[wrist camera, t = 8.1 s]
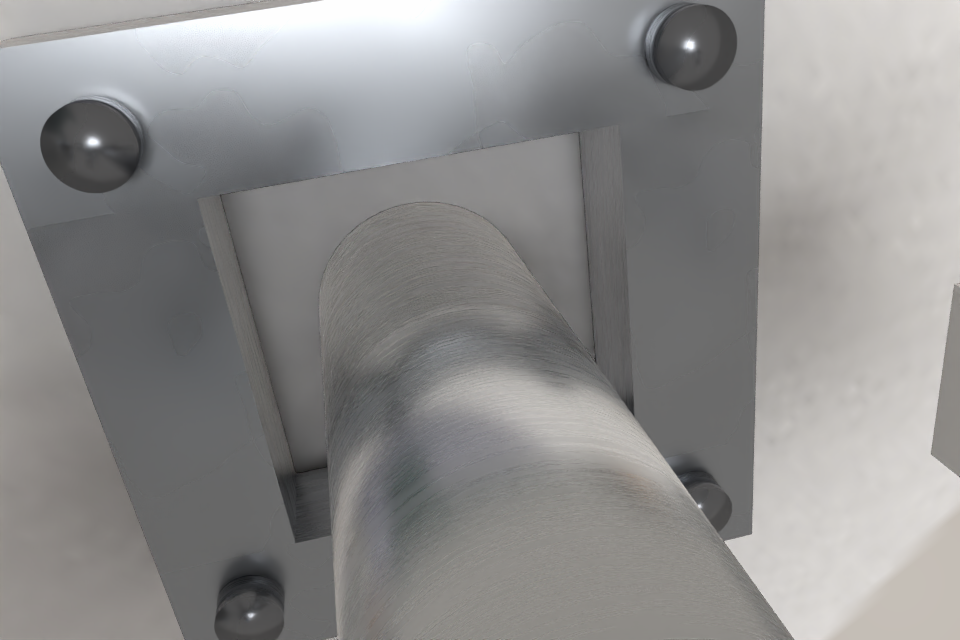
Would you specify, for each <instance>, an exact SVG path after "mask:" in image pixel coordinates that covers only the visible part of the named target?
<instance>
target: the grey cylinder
mask: <svg viewBox="0 0 960 640" xmlns="http://www.w3.org/2000/svg"><path fill="white" fill-rule="evenodd" d="M319 320H320V338H321V356H322V373H323V391H324V409H325V427H326V445H327V462H328V480H329V498H330V516H331V534H332V551H333V569H334V587H335V605H336V623H337V640H794V638H793V637H792V636H791V634H790V633H789V632H788V630H787V629H786V627H785V626H784V625H783V623H782V622H781V620H780V619H779V618H778V616H777V615H776V613H775V612H774V611H773V609H772V608H771V606H770V605H769V604H768V602H767V601H766V600H765V598H764V597H763V595H762V594H761V593H760V591H759V590H758V588H757V587H756V586H755V584H754V583H753V581H752V580H751V579H750V577H749V576H748V574H747V573H746V572H745V570H744V569H743V567H742V566H741V565H740V563H739V562H738V561H737V559H736V558H735V556H734V555H733V554H732V552H731V551H730V549H729V548H728V547H727V545H726V544H725V542H724V541H723V540H722V538H721V537H720V535H719V534H718V533H717V531H716V530H715V529H714V527H713V526H712V524H711V523H710V522H709V520H708V519H707V517H706V516H705V515H704V513H703V512H702V510H701V509H700V508H699V506H698V505H697V503H696V502H695V501H694V499H693V498H692V496H691V495H690V494H689V492H688V491H687V490H686V488H685V487H684V485H683V484H682V483H681V481H680V480H679V478H678V477H677V476H676V474H675V473H674V471H673V470H672V469H671V467H670V466H669V464H668V463H667V462H666V460H665V459H664V458H663V456H662V455H661V453H660V452H659V451H658V449H657V448H656V446H655V445H654V444H653V442H652V441H651V439H650V438H649V437H648V435H647V434H646V432H645V431H644V430H643V428H642V427H641V426H640V424H639V423H638V421H637V420H636V419H635V417H634V416H633V414H632V413H631V412H630V410H629V409H628V407H627V406H626V405H625V403H624V402H623V400H622V399H621V398H620V396H619V395H618V393H617V392H616V391H615V389H614V388H613V387H612V385H611V384H610V382H609V381H608V380H607V378H606V377H605V375H604V374H603V373H602V371H601V370H600V368H599V367H598V366H597V364H596V363H595V361H594V360H593V359H592V357H591V356H590V355H589V353H588V352H587V350H586V349H585V348H584V346H583V345H582V343H581V342H580V341H579V339H578V338H577V336H576V335H575V334H574V332H573V331H572V329H571V328H570V327H569V325H568V324H567V322H566V321H565V320H564V318H563V317H562V316H561V314H560V313H559V311H558V310H557V309H556V307H555V306H554V304H553V303H552V302H551V300H550V299H549V297H548V296H547V295H546V293H545V292H544V290H543V289H542V288H541V286H540V285H539V284H538V282H537V281H536V279H535V278H534V277H533V275H532V274H531V272H530V271H529V270H528V268H527V267H526V265H525V264H524V263H523V261H522V260H521V258H520V257H519V256H518V254H517V253H516V251H515V250H514V249H513V247H512V246H511V245H510V243H509V242H508V240H507V239H506V238H505V237H504V235H503V234H502V233H501V232H500V231H499V230H498V229H497V228H496V227H495V226H493V225H492V224H491V223H490V222H488V221H487V220H486V219H484V218H482V217H481V216H479V215H477V214H476V213H473V212H471V211H469V210H466V209H464V208H461V207H458V206H454V205H450V204H444V203H437V202H419V203H410V204H405V205H401V206H397V207H393V208H390V209H388V210H385V211H383V212H380V213H378V214H376V215H375V216H373V217H371V218H369V219H367V220H366V221H364V222H363V223H362V224H360V225H359V226H358V227H356V228H355V229H354V230H353V231H352V232H351V233H350V234H349V235H348V236H346V237H345V239H344V240H343V241H342V242H341V244H340V245H339V246H338V247H337V249H336V250H335V252H334V253H333V255H332V257H331V258H330V260H329V262H328V265H327V267H326V269H325V271H324V275H323V278H322V282H321V285H320V293H319Z"/></svg>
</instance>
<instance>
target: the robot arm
mask: <svg viewBox="0 0 960 640" xmlns="http://www.w3.org/2000/svg"><path fill="white" fill-rule="evenodd" d="M931 455H932V456H934V457H935V458H936V459H937V460H939V461H940V462H941V463H942V464H944V465H945V466H946V467H947V468H949V469H950V470H951V471H952V472H954V473H955V474H956V475H957V476H959V477H960V283H957V284H954V290H953V297H952V304H951V312H950V319H949V326H948V333H947V341H946V348H945V355H944V362H943V370H942V377H941V384H940V391H939V399H938V406H937V413H936V421H935V428H934V435H933V442H932V450H931Z"/></svg>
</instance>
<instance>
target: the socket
mask: <svg viewBox="0 0 960 640" xmlns="http://www.w3.org/2000/svg"><path fill="white" fill-rule="evenodd" d="M764 9H765V0H269V1H262V2H255V3H249V4H242V5H235V6H228V7H221V8H214V9H208V10H201V11H194V12H187V13H180V14H174V15H167V16H160V17H153V18H146V19H139V20H133V21H126V22H119V23H112V24H105V25H99V26H92V27H85V28H78V29H71V30H65V31H58V32H51V33H44V34H37V35H30V36H24V37H17V38H11V39H8V40H4V41H1V42H0V163H1V166H2V168H3V171H4V173H5V176H6V179H7V181H8V184H9V186H10V189H11V192H12V194H13V197H14V199H15V202H16V204H17V207H18V210H19V212H20V215H21V217H22V220H23V223H24V225H25V228H26V230H27V233H28V235H29V238H30V241H31V243H32V246H33V248H34V251H35V254H36V256H37V259H38V261H39V264H40V267H41V269H42V272H43V274H44V277H45V279H46V282H47V285H48V287H49V290H50V292H51V295H52V298H53V300H54V303H55V305H56V308H57V310H58V313H59V316H60V318H61V321H62V323H63V326H64V329H65V331H66V334H67V336H68V339H69V342H70V344H71V347H72V349H73V352H74V354H75V357H76V360H77V362H78V365H79V367H80V370H81V373H82V375H83V378H84V380H85V383H86V385H87V388H88V391H89V393H90V396H91V398H92V401H93V404H94V406H95V409H96V411H97V414H98V416H99V419H100V422H101V424H102V427H103V429H104V432H105V435H106V437H107V440H108V442H109V445H110V448H111V450H112V453H113V455H114V458H115V460H116V463H117V466H118V468H119V471H120V473H121V476H122V479H123V481H124V484H125V486H126V489H127V491H128V494H129V497H130V499H131V502H132V504H133V507H134V510H135V512H136V515H137V517H138V520H139V523H140V525H141V528H142V530H143V533H144V535H145V538H146V541H147V543H148V546H149V548H150V551H151V554H152V556H153V559H154V561H155V564H156V566H157V569H158V572H159V574H160V577H161V579H162V582H163V585H164V587H165V590H166V592H167V595H168V597H169V600H170V603H171V605H172V608H173V610H174V613H175V616H176V618H177V621H178V623H179V626H180V629H181V631H182V634H183V636H184V639H185V640H324V639H329V638H333V637H337V623H336V605H335V587H334V569H333V551H332V534H331V516H330V498H329V480H328V467H324V468H320V469H315V470H311V471H306V472H302V473H297V474H296V472H295V468H294V465H293V461H292V457H291V454H290V450H289V446H288V443H287V439H286V435H285V432H284V428H283V424H282V421H281V417H280V413H279V410H278V406H277V402H276V399H275V395H274V391H273V388H272V384H271V380H270V377H269V373H268V369H267V366H266V362H265V359H264V355H263V351H262V348H261V344H260V340H259V337H258V333H257V329H256V326H255V322H254V318H253V315H252V311H251V307H250V304H249V300H248V296H247V293H246V289H245V285H244V282H243V278H242V274H241V271H240V267H239V263H238V260H237V256H236V252H235V249H234V245H233V241H232V238H231V234H230V230H229V227H228V223H227V219H226V216H225V212H224V208H223V205H222V201H221V197H220V195H221V194H227V193H232V192H238V191H244V190H250V189H255V188H261V187H267V186H272V185H278V184H284V183H290V182H295V181H301V180H307V179H312V178H318V177H324V176H329V175H335V174H341V173H347V172H352V171H358V170H364V169H369V168H375V167H381V166H387V165H392V164H398V163H404V162H409V161H415V160H421V159H426V158H432V157H438V156H444V155H449V154H455V153H461V152H466V151H472V150H478V149H484V148H489V147H495V146H501V145H506V144H512V143H518V142H524V141H529V140H535V139H541V138H546V137H552V136H558V135H563V134H569V133H575V132H579V137H580V151H581V164H582V178H583V192H584V206H585V219H586V233H587V247H588V260H589V274H590V288H591V302H592V315H593V329H594V343H595V357H596V364H597V366H598V367H599V368H600V370H601V371H602V373H603V374H604V375H605V377H606V378H607V380H608V381H609V382H610V384H611V385H612V387H613V388H614V389H615V391H616V392H617V393H618V395H619V396H620V398H621V399H622V400H623V402H624V403H625V405H626V406H627V407H628V409H629V410H630V412H631V413H632V414H633V416H634V417H635V419H636V420H637V421H638V423H639V424H640V426H641V427H642V428H643V430H644V431H645V432H646V434H647V435H648V437H649V438H650V439H651V441H652V442H653V444H654V445H655V446H656V448H657V449H658V451H659V452H660V453H661V455H662V456H663V458H664V459H665V460H666V462H667V463H668V464H669V466H670V467H671V469H672V470H673V471H674V473H675V474H676V476H677V477H678V478H679V480H680V481H681V483H682V484H683V485H684V487H685V488H686V490H687V491H688V492H689V494H690V495H691V496H692V498H693V499H694V501H695V502H696V503H697V505H698V506H699V508H700V509H701V510H702V512H703V513H704V515H705V516H706V517H707V519H708V520H709V522H710V523H711V524H712V526H713V527H714V529H715V530H716V531H717V533H718V534H719V535H720V537H721V538H722V540H723V541H725V540H729V539H733V538H737V537H742V536H746V535H750V534H752V507H753V466H754V424H755V383H756V341H757V299H758V258H759V216H760V175H761V133H762V92H763V50H764Z"/></svg>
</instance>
